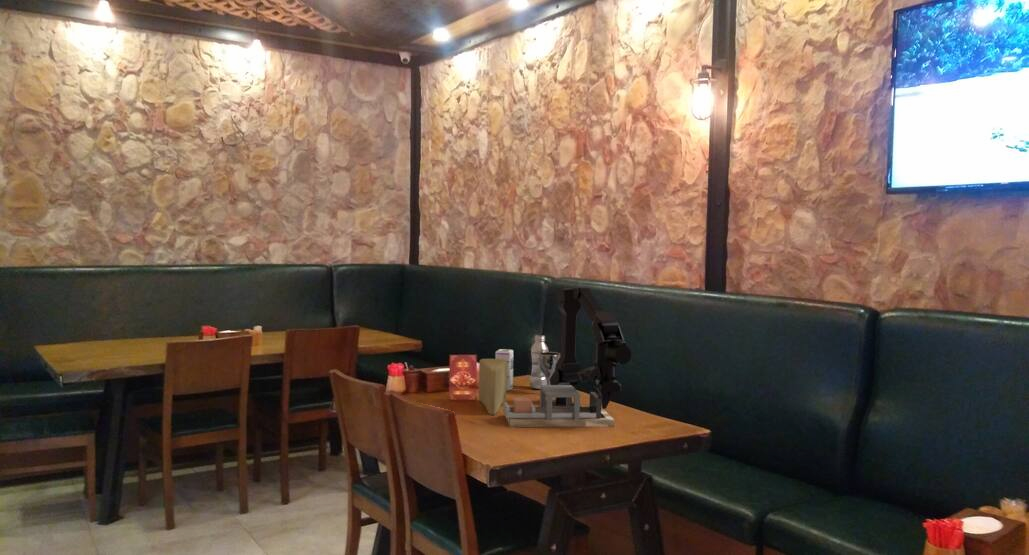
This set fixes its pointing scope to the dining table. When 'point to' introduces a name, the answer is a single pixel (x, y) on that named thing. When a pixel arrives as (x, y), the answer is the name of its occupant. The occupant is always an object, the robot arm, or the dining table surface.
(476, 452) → the dining table surface
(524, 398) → the block
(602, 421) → the cream flat frame
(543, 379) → the plastic bottle
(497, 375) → the cheese
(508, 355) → the syrup box
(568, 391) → the tunnel
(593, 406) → the frame
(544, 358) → the wine glass
